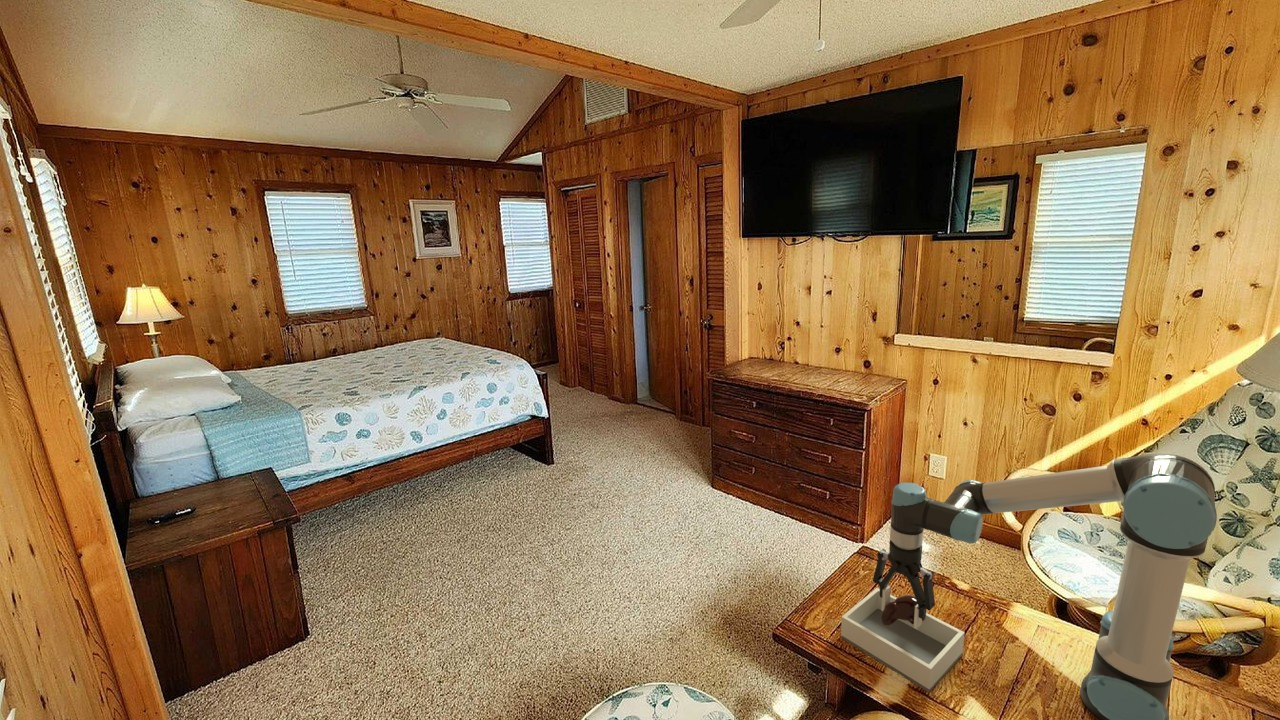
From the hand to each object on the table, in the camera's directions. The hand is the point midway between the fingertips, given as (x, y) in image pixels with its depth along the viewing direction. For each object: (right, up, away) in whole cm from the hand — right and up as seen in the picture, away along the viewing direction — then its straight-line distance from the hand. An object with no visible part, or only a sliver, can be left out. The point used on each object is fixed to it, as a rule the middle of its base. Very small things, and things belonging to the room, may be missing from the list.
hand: (901, 617), depth 143 cm
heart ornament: (+1, -1, +2) cm, 3 cm away
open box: (+1, -9, +2) cm, 9 cm away
